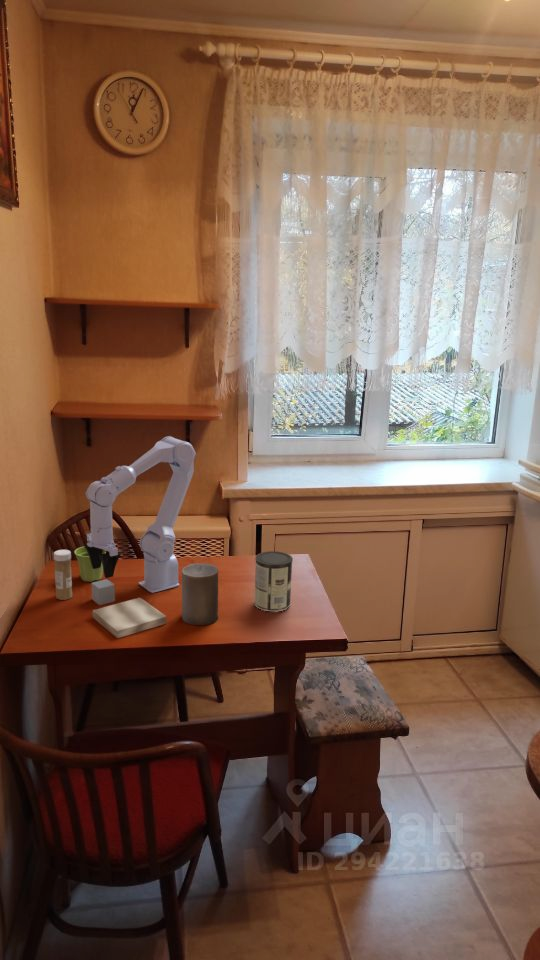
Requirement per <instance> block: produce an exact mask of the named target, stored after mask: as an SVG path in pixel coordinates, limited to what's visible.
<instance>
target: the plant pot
mask: <svg viewBox="0 0 540 960" xmlns="http://www.w3.org/2000/svg"><path fill="white" fill-rule="evenodd" d="M73 552H74V555H75V556H76V559H77V563H78V569H79V575H80V579H81V580H82V581H83V582H90V583H93V582H95V581H101V579H102V578H103V574H104V570H103V565H102V561H101V567H100V568H97V569H93V568H92V565H91V561H90V558H89V555H88V552H87V550H86V549H85V547H84V546H80V547H78V548H76V549H74V551H73ZM103 553H106V551H105V550H103V552H102V554H103Z"/></svg>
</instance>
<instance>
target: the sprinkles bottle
mask: <svg viewBox="0 0 540 960" xmlns="http://www.w3.org/2000/svg"><path fill="white" fill-rule="evenodd" d="M71 559H72V552H71V550H68V549H58V550H55V551H54V552H53V560H54V578H55V579H54V580H55V581H54V582H55V591H56V592H55V593H56V594H55V598H56V599H58V600H61V601H63V600H64V601H66V600H69V599H71V598H72V597H73V596H74V595H73V588H72V587H73V582H72V580H73V579H72V567H71V565H72V564H71V561H72V560H71Z"/></svg>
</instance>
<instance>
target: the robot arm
mask: <svg viewBox="0 0 540 960" xmlns="http://www.w3.org/2000/svg"><path fill="white" fill-rule="evenodd" d="M196 455H197V452H196V451H195V449H194V447H193V445H192V444H191V443H190V442H188V441H185V440H181V439H178V438H175V437H173V436H171V435H169V436H165V437H163V438H162V439H161V440H159V441H156V443H155V444H154V446H153V447H152V448H151V449H149V450H147V452H145V453H144V454H142V456H140V457H139V458H137V459H136V460H134V462H133V463H131V464H129V466H128V465H121V466H120V465H118V466H116V467H115V468H114V469H115V470H114V471H112V472H110V474H107V476H103V477H101V479H100V480H96V481H94V482H91V483H90V485H89V486H88V487H87V489H86V491H85V497H86V498H87V500H89V509H90V510H89V512H90V513H89V516H90V518H89V519H90V533H87V534H86V541H87V543H85V544H83V547H85V549H86V550H87V552H88V555H89V558H90V561H91V565H92V568H93V569H97V568H100V567H101V561H102V565H103V574H104V578H105V579H110V578H112V577H114V573H115V570H116V565H117V563H118V561H119V559H120V558H121V556H122V554H121V552H120V551H118V550H119V548H118V547H116V544H115V542H114V536H113V504H114V502H115V500H116V499H117V497H118V496H119V494H121V493H122V492H123V491H125V490H127V489H128V488H129V487H131V486H132V485H134V484H135V483H136V479H137V477H138V476H139V475H141V474H142V473H144V472H146V471H148V470H149V469H150V468H151V469H152V467H154V466H156V465H158V464H159V463H168V464H169V466H170V469H171V470H172V475H171V478H170V481H169V483H168V486H167V489H166V491H165V494H164V496H163V499H162V501H161V504H160V507H159V510H158V513H157V516H156V519H155V521H154V522H153V523H152V524H150V525H149V526H147V529H146V531H145V532H144V534H142V535H141V537H140V539H139V547H140V549H141V551H143V555H144V556H143V560H144V561H143V563H144V566H143V567H144V568H143V570H144V571H143V572H144V573H143V574H144V576H143V578H144V580H143V581H139V582H138V585H139V586H141V587H142V588H144V589H145V590H147V591H148V592H150V593H152V594H155V593H157V592H161V591H165V590H168V589H172V588H177V587H179V586H180V583H179V562H178V558H177V557H176V556H175V554H174V551H175V545H174V544H175V541H176V536H175V532H174V526H175V524H176V521H177V519H178V516H179V513H180V510H181V508H182V505H183V502H184V500H185V497H186V494H187V491H188V488H189V487H190V483H191V481H192V477H193V475H194V473H195V471H194V470H195V468H194V466H195V464H194V460H195V457H196ZM103 550H105V551H106V553H103V554H102V552H103Z"/></svg>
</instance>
